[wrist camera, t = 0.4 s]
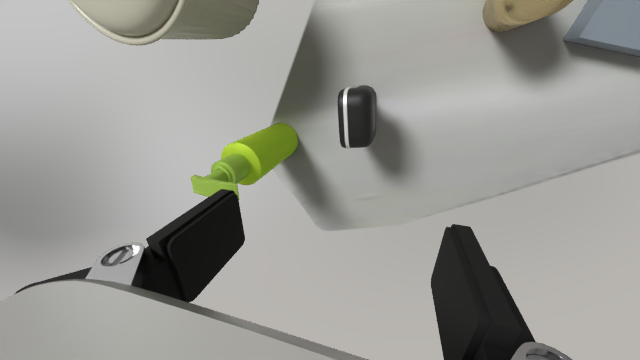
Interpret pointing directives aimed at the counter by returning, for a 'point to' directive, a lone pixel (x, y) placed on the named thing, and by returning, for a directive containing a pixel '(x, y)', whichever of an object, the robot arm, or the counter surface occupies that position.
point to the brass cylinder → (518, 12)
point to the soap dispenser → (248, 160)
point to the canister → (166, 18)
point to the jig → (608, 26)
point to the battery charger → (357, 116)
